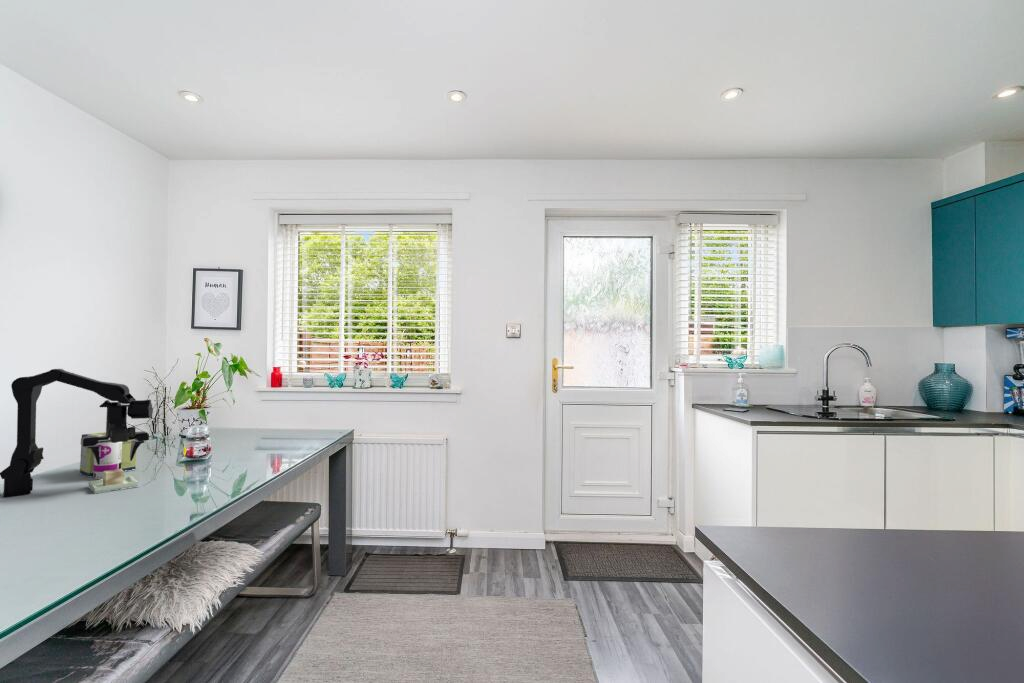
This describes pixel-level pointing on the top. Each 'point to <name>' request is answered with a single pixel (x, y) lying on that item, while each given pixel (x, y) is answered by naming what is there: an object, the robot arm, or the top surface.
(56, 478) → the top surface
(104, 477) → the maple cube
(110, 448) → the supplement can
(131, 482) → the tray
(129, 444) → the protein box
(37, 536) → the top surface
